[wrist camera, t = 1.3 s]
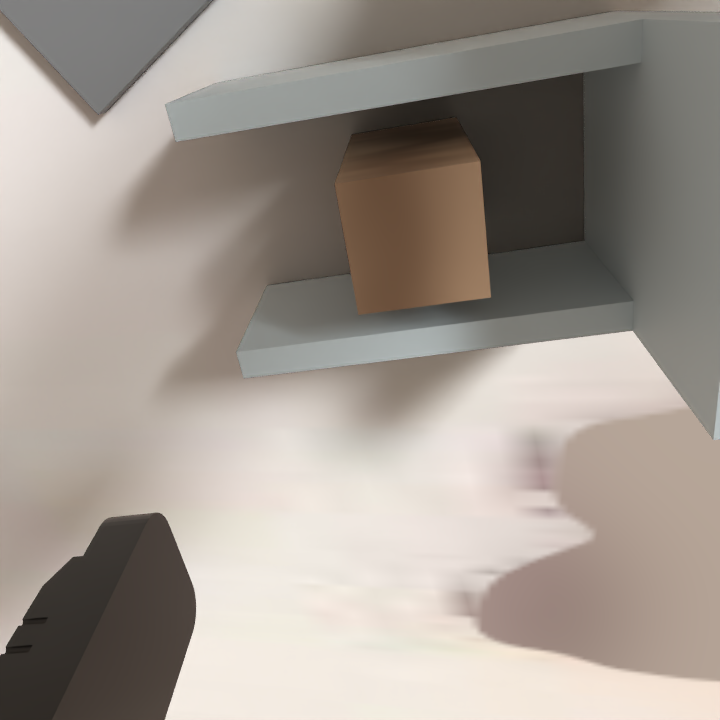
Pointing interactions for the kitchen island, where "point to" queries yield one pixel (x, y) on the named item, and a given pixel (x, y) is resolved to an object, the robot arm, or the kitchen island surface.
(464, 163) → the walnut block
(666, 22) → the shelf bay
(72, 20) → the slate pad
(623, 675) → the kitchen island surface
